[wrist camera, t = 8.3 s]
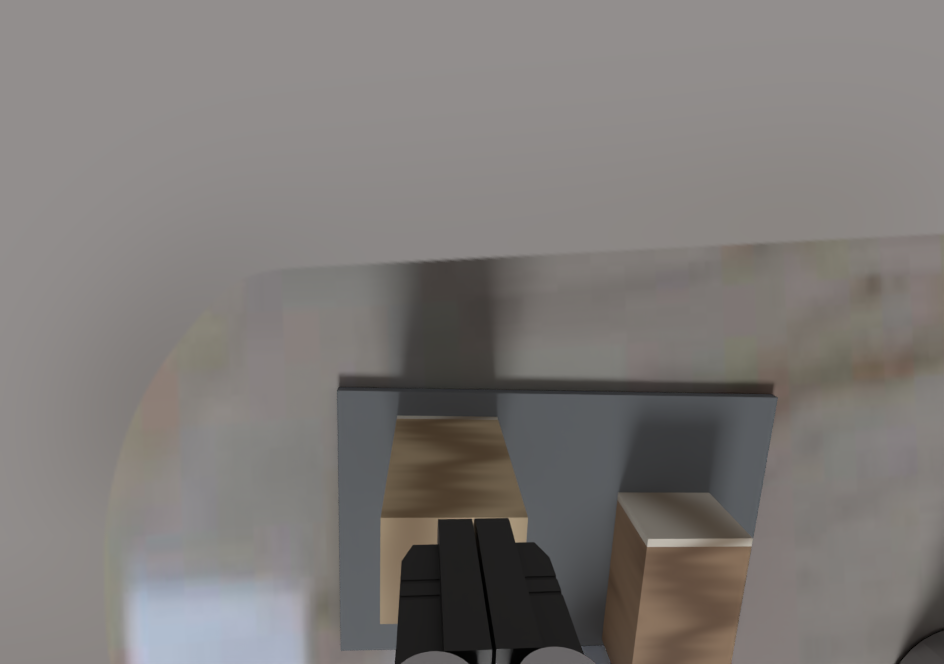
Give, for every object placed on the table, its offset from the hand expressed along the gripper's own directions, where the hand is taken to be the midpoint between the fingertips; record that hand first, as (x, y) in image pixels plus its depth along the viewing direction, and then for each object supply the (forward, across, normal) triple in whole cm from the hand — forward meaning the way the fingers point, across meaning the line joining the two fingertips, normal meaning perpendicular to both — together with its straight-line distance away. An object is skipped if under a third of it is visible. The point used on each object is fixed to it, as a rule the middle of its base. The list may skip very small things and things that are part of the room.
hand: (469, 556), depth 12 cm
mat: (+21, -8, +13) cm, 26 cm away
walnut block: (+18, -14, +10) cm, 25 cm away
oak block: (+21, 0, +8) cm, 22 cm away
